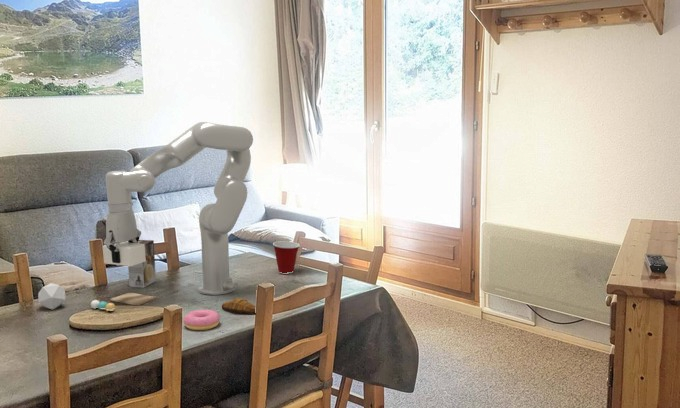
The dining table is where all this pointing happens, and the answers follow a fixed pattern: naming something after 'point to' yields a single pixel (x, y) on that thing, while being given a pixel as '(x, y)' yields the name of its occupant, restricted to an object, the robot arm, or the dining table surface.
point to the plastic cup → (286, 255)
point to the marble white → (94, 304)
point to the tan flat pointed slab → (133, 298)
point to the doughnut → (201, 319)
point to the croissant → (239, 306)
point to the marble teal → (102, 304)
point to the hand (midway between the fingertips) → (124, 259)
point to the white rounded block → (126, 254)
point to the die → (51, 296)
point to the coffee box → (143, 267)
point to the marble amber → (110, 306)
